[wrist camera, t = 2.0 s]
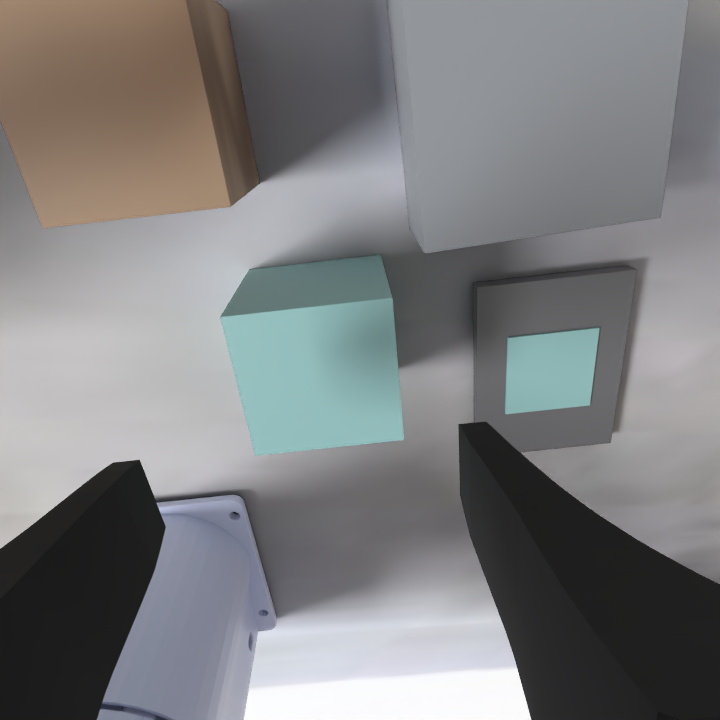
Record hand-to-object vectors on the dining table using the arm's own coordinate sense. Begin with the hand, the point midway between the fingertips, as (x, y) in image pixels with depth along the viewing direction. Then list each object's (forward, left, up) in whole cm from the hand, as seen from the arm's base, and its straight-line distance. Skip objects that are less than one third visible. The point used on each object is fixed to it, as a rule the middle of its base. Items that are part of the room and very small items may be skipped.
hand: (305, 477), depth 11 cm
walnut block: (+8, +4, -10) cm, 13 cm away
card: (-3, -9, -9) cm, 13 cm away
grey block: (+7, -7, -10) cm, 14 cm away
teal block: (0, 0, -10) cm, 10 cm away
